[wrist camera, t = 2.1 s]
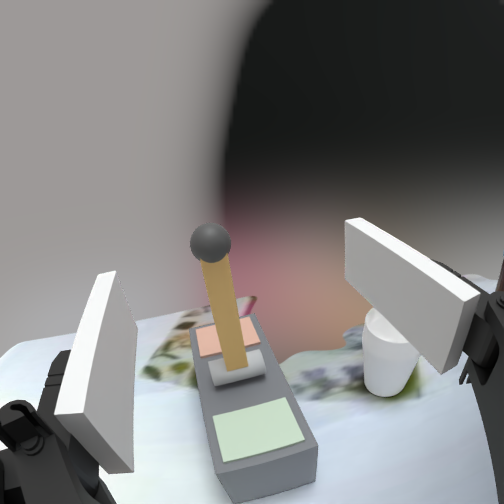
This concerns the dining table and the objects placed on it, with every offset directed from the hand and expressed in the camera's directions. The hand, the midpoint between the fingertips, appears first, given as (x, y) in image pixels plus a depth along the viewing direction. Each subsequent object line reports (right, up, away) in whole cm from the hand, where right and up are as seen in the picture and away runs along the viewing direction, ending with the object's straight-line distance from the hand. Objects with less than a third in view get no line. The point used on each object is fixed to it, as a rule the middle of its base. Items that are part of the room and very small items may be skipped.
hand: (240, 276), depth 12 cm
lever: (-1, -14, +23) cm, 27 cm away
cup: (+21, -19, +30) cm, 41 cm away
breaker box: (0, -23, +27) cm, 36 cm away
